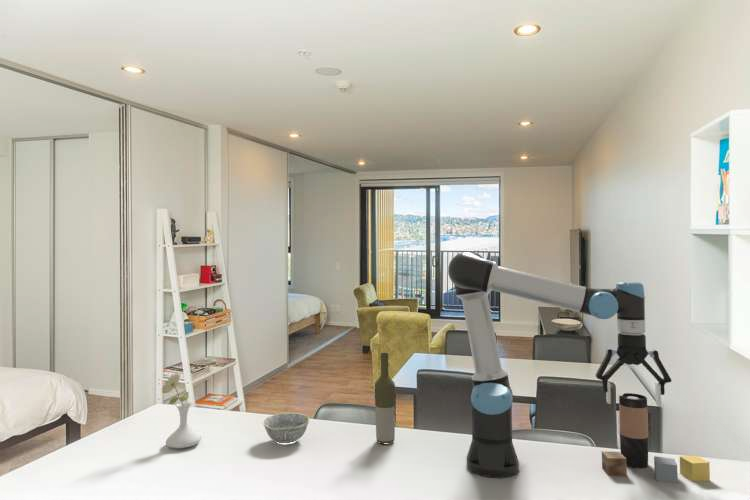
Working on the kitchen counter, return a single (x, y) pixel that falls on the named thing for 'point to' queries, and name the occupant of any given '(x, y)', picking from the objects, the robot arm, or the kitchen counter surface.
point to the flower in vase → (184, 433)
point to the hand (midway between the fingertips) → (633, 404)
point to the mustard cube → (694, 468)
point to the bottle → (385, 404)
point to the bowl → (286, 426)
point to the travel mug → (634, 429)
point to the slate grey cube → (665, 469)
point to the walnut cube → (614, 464)
